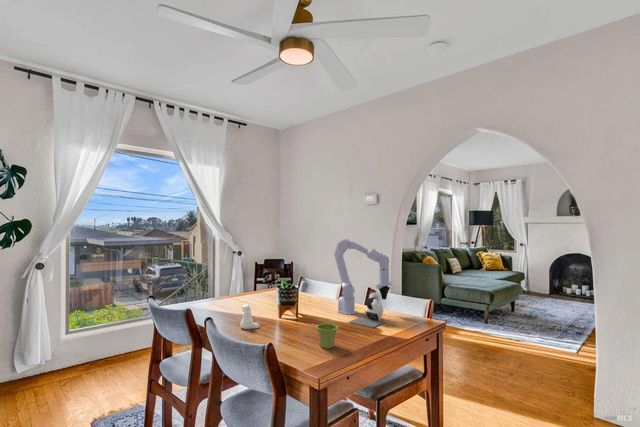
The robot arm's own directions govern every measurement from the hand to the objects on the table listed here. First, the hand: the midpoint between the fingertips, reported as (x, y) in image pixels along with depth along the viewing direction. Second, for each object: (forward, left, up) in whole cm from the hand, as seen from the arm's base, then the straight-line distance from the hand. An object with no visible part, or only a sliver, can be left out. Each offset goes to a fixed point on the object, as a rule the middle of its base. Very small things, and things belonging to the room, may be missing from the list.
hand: (384, 299), depth 204 cm
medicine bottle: (0, -10, -7) cm, 12 cm away
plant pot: (+4, -61, -9) cm, 62 cm away
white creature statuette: (-44, -65, -9) cm, 79 cm away
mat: (0, -20, -9) cm, 22 cm away
